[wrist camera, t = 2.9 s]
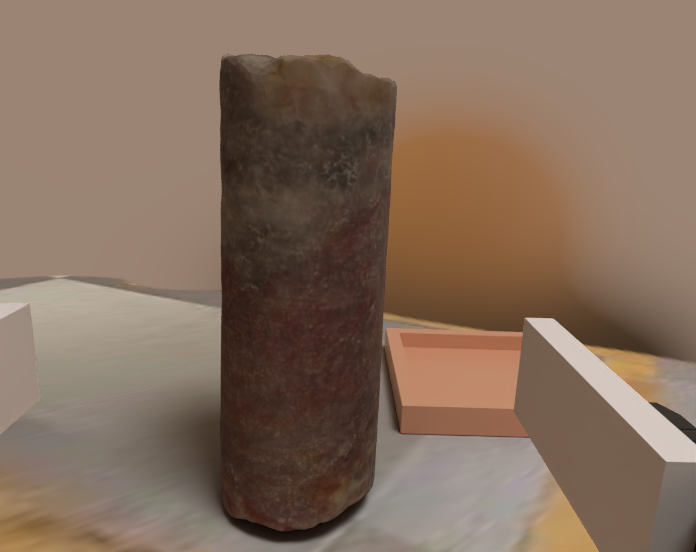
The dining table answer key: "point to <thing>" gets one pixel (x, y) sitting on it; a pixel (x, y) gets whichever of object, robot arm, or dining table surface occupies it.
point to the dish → (455, 381)
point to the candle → (301, 283)
